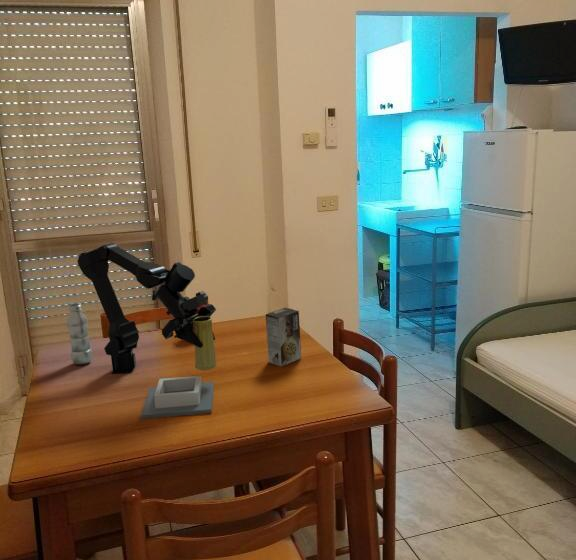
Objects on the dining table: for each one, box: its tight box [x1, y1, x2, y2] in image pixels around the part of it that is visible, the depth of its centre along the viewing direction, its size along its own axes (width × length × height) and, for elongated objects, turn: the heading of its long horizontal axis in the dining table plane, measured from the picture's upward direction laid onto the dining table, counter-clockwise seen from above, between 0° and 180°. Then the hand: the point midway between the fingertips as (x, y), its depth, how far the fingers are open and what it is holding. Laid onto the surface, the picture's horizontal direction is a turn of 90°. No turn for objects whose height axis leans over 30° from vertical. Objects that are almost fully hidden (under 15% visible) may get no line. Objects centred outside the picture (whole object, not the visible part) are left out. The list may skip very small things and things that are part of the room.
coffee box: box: [265, 307, 302, 367], centre depth 175 cm, size 9×6×16 cm
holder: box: [140, 375, 215, 420], centre depth 151 cm, size 18×18×4 cm
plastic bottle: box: [65, 303, 94, 365], centre depth 181 cm, size 6×7×20 cm
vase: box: [193, 316, 217, 371], centre depth 157 cm, size 6×6×14 cm
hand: (208, 343), depth 156 cm, fingers closed on vase, 5 cm apart
